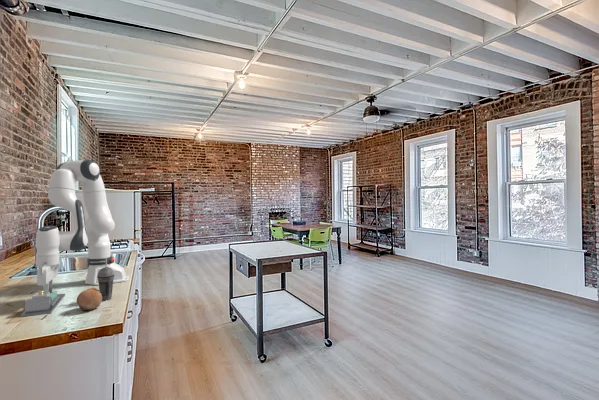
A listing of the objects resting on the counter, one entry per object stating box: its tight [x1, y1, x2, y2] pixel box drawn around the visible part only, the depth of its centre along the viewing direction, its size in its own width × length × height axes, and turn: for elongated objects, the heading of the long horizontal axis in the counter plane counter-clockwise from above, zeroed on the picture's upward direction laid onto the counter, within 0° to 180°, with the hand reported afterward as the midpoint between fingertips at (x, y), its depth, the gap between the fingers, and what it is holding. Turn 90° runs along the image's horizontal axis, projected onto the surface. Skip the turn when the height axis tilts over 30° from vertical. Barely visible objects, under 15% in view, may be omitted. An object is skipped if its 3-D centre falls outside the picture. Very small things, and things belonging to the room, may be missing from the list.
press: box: [20, 293, 66, 318], centre depth 142 cm, size 10×26×6 cm, turn 26°
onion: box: [76, 287, 103, 311], centre depth 138 cm, size 10×9×10 cm
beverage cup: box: [97, 258, 115, 302], centre depth 151 cm, size 7×7×20 cm
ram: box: [48, 282, 58, 302], centre depth 144 cm, size 6×11×8 cm, turn 26°
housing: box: [31, 289, 50, 299], centre depth 137 cm, size 5×5×7 cm
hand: (47, 290), depth 147 cm, fingers open, 3 cm apart
